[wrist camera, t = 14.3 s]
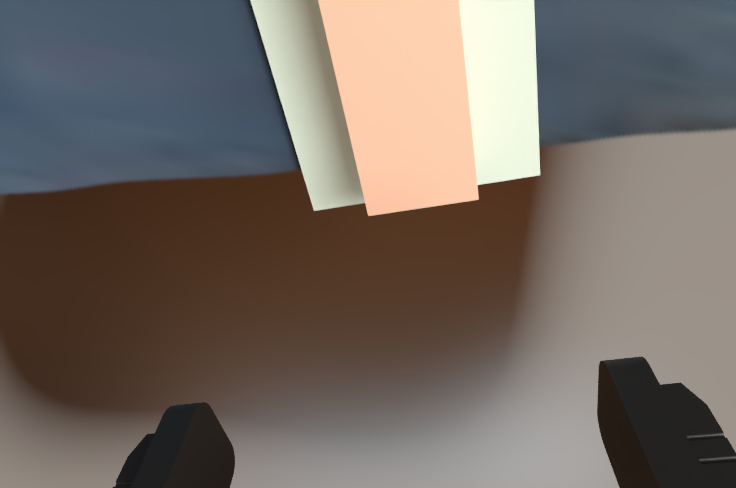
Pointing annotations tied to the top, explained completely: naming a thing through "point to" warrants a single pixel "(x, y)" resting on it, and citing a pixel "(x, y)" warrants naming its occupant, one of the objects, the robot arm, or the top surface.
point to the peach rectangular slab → (404, 100)
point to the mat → (484, 82)
